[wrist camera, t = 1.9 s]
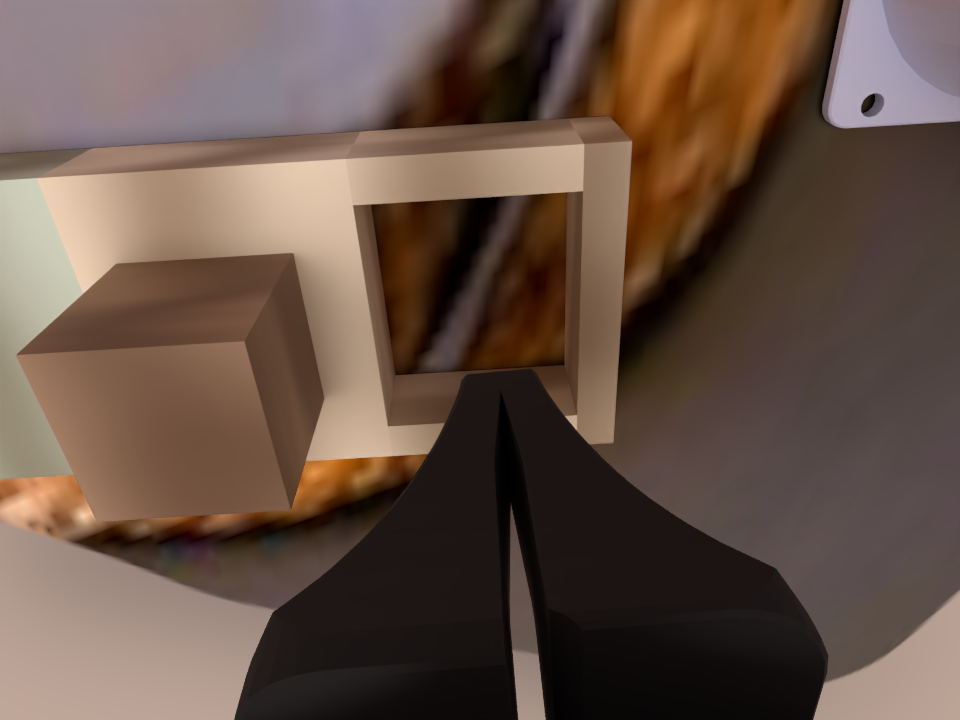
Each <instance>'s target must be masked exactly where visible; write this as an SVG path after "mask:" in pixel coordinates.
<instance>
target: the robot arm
mask: <svg viewBox="0 0 960 720" xmlns="http://www.w3.org/2000/svg"><path fill="white" fill-rule="evenodd" d="M871 94H874V95H875V102H874V105H873V107H872V108H871V109H870V110H869V111H867V112H865V113H861V105H862V103H863V101H864V99H865V98H866V97H868V96H869V95H871ZM822 114H823V116H824V118H825V120H826V121H827V122H829V123H830V124H831V125H834V126H836V127H839V128H859V127H875V126H891V125H907V124H923V123H939V122H955V121H960V0H844V1H843V6H842V11H841V16H840V21H839V26H838V31H837V36H836V41H835V46H834V51H833V56H832V60H831V65H830V70H829V75H828V80H827V85H826V90H825V95H824V100H823V105H822ZM511 506H512V510H513V515H514V520H515V525H516V530H517V534H518V539H519V544H520V549H521V554H522V558H523V563H524V568H525V573H526V577H527V582H528V587H529V592H530V596H531V601H532V607H533V614H534V620H535V627H536V636H537V645H538V654H539V662H540V671H541V681H542V690H543V699H544V707H545V717H546V720H813V718H814V715H815V711H816V708H817V705H818V701H819V698H820V695H821V691H822V688H823V684H824V681H825V678H826V674H827V665H828V654H827V651H826V649H825V646H824V644H823V641H822V639H821V637H820V635H819V633H818V631H817V629H816V627H815V625H814V624H813V622H812V620H811V618H810V616H809V615H808V613H807V612H806V610H805V609H804V607H803V606H802V604H801V603H800V601H799V600H798V599H797V597H796V596H795V594H794V593H793V591H792V590H791V589H790V587H789V586H788V584H787V583H786V582H785V580H784V579H783V578H782V576H781V575H780V573H779V572H778V571H777V569H775V568H774V567H772V566H770V565H767V564H765V563H763V562H761V561H759V560H757V559H755V558H753V557H751V556H748V555H746V554H744V553H742V552H740V551H738V550H736V549H734V548H731V547H729V546H727V545H725V544H723V543H721V542H719V541H717V540H715V539H714V538H712V537H710V536H708V535H707V534H705V533H703V532H701V531H700V530H698V529H696V528H694V527H693V526H691V525H689V524H687V523H686V522H684V521H683V520H681V519H679V518H678V517H676V516H675V515H673V514H672V513H670V512H669V511H667V510H666V509H665V508H663V507H662V506H660V505H659V504H657V503H656V502H654V501H653V500H651V499H650V498H648V497H647V496H646V495H645V494H643V493H642V492H641V491H639V490H638V489H637V488H636V487H634V486H633V485H632V484H631V483H630V482H628V481H627V480H626V479H625V478H624V477H623V476H621V475H620V474H619V473H618V472H617V471H616V470H615V469H613V468H612V467H611V466H610V465H609V464H608V463H607V462H606V461H605V460H604V459H603V458H602V457H601V456H600V455H599V454H598V453H597V452H596V451H595V450H594V449H593V448H592V447H591V446H590V445H589V444H588V443H587V441H586V440H585V439H584V438H583V437H582V436H581V435H580V434H579V433H578V431H577V430H576V429H575V428H574V427H573V425H572V424H571V423H570V422H569V420H568V419H567V418H566V417H565V416H564V414H563V413H562V412H561V410H560V409H559V408H558V406H557V405H556V404H555V402H554V401H553V399H552V398H551V397H550V395H549V394H548V392H547V391H546V389H545V387H544V386H543V384H542V382H541V381H540V379H539V377H538V375H537V373H536V372H535V371H533V370H532V369H520V370H509V371H498V372H487V373H476V374H467V375H466V376H465V377H464V378H463V379H462V380H461V384H460V388H459V391H458V394H457V397H456V400H455V402H454V404H453V407H452V409H451V411H450V414H449V416H448V418H447V420H446V422H445V424H444V426H443V428H442V430H441V432H440V434H439V436H438V438H437V440H436V442H435V443H434V445H433V447H432V448H431V450H430V452H429V453H428V455H427V457H426V458H425V460H424V462H423V463H422V465H421V467H420V468H419V470H418V471H417V473H416V474H415V476H414V477H413V479H412V480H411V482H410V483H409V484H408V486H407V487H406V489H405V490H404V491H403V492H402V494H401V495H400V496H399V498H398V499H397V500H396V502H395V503H394V504H393V505H392V507H391V508H390V509H389V510H388V511H387V512H386V513H385V515H384V516H383V517H382V518H381V519H380V520H379V522H378V523H377V524H376V525H375V526H374V527H373V528H372V529H371V531H370V532H369V533H368V534H367V535H366V536H365V537H364V538H363V539H362V540H361V541H360V542H359V543H358V544H357V545H356V546H355V547H354V548H353V549H351V550H350V551H349V552H348V553H347V554H346V555H345V556H344V557H343V558H342V559H341V560H340V561H339V562H337V563H336V564H335V565H334V566H333V567H332V568H331V569H330V570H328V571H327V572H326V573H325V574H324V575H322V576H321V577H320V578H319V579H317V580H316V581H315V582H313V583H312V584H311V585H309V586H308V587H307V588H305V589H304V590H303V591H301V592H300V593H299V594H297V595H296V596H295V597H293V598H292V599H291V600H289V601H288V602H287V603H285V604H284V605H283V606H281V607H280V608H278V609H277V610H275V611H274V612H273V613H272V615H271V617H270V619H269V622H268V624H267V626H266V628H265V631H264V633H263V635H262V637H261V639H260V642H259V644H258V647H257V649H256V651H255V653H254V656H253V658H252V661H251V663H250V666H249V669H248V672H247V675H246V679H245V682H244V686H243V689H242V693H241V697H240V700H239V704H238V708H237V711H236V715H235V719H234V720H518V713H517V701H516V689H515V677H514V665H513V653H512V641H511V629H510V603H509V600H510V511H511Z"/></svg>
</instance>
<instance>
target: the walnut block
mask: <svg viewBox="0 0 960 720" xmlns="http://www.w3.org/2000/svg"><path fill="white" fill-rule="evenodd" d="M16 357H17V359H18V361H19V363H20V365H21V367H22V369H23V371H24V373H25V375H26V377H27V379H28V381H29V383H30V385H31V388H32V390H33V392H34V394H35V396H36V398H37V400H38V402H39V404H40V406H41V408H42V410H43V412H44V414H45V416H46V418H47V420H48V422H49V424H50V426H51V429H52V431H53V433H54V435H55V437H56V439H57V441H58V443H59V445H60V447H61V449H62V451H63V453H64V455H65V457H66V459H67V461H68V463H69V465H70V467H71V470H72V472H73V474H74V476H75V478H76V480H77V482H78V484H79V486H80V488H81V490H82V492H83V494H84V496H85V498H86V500H87V502H88V504H89V506H90V508H91V511H92V513H93V515H94V517H95V519H96V521H97V522H98V521H115V520H132V519H149V518H166V517H183V516H200V515H217V514H234V513H251V512H268V511H285V510H291V508H292V505H293V501H294V498H295V495H296V491H297V488H298V485H299V482H300V478H301V475H302V472H303V468H304V465H305V462H306V458H307V455H308V452H309V448H310V445H311V442H312V438H313V435H314V432H315V429H316V425H317V422H318V419H319V415H320V412H321V409H322V405H323V402H324V394H323V390H322V385H321V380H320V376H319V371H318V366H317V362H316V357H315V352H314V348H313V343H312V338H311V334H310V329H309V324H308V320H307V315H306V310H305V306H304V301H303V296H302V292H301V287H300V282H299V278H298V273H297V268H296V264H295V259H294V254H293V253H282V254H265V255H249V256H233V257H216V258H200V259H184V260H167V261H151V262H135V263H118V264H115V265H114V266H113V267H112V268H111V269H110V270H109V271H108V272H106V273H105V274H104V275H103V276H102V277H101V278H100V279H99V280H98V281H97V282H96V283H94V284H93V285H92V286H91V287H90V288H89V289H88V290H87V291H86V292H85V293H83V294H82V295H81V296H80V297H79V298H78V299H77V300H76V301H75V302H74V303H72V304H71V305H70V306H69V307H68V308H67V309H66V310H65V311H64V312H63V313H61V314H60V315H59V316H58V317H57V318H56V319H55V320H54V321H53V322H52V323H50V324H49V325H48V326H47V327H46V328H45V329H44V330H43V331H42V332H41V333H39V334H38V335H37V336H36V337H35V338H34V339H33V340H32V341H31V342H30V343H28V344H27V345H26V346H25V347H24V348H23V349H22V350H21V351H20V352H19V353H17V354H16Z"/></svg>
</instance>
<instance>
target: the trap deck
mask: <svg viewBox="0 0 960 720" xmlns="http://www.w3.org/2000/svg"><path fill="white" fill-rule="evenodd" d="M631 154H632V140H631V139H630V138H629V137H628V136H627V135H626V134H625V133H624V131H623V130H622V129H621V128H620V127H619V126H618V125H617V124H616V123H615V122H614V120H613V119H612V118H611V117H610V116H601V117H585V118H569V119H553V120H537V121H521V122H505V123H489V124H473V125H457V126H441V127H424V128H408V129H392V130H376V131H360V132H344V133H328V134H312V135H296V136H280V137H264V138H248V139H232V140H216V141H200V142H184V143H168V144H152V145H136V146H120V147H104V148H88V149H72V150H56V151H40V152H24V153H8V154H0V479H12V478H29V477H46V476H63V475H74V474H73V472H72V470H71V467H70V465H69V463H68V461H67V459H66V457H65V455H64V453H63V451H62V449H61V447H60V445H59V443H58V441H57V439H56V437H55V435H54V433H53V431H52V429H51V426H50V424H49V422H48V420H47V418H46V416H45V414H44V412H43V410H42V408H41V406H40V404H39V402H38V400H37V398H36V396H35V394H34V392H33V390H32V388H31V385H30V383H29V381H28V379H27V377H26V375H25V373H24V371H23V369H22V367H21V365H20V363H19V361H18V359H17V357H16V354H17V353H19V352H20V351H21V350H22V349H23V348H24V347H25V346H26V345H27V344H28V343H30V342H31V341H32V340H33V339H34V338H35V337H36V336H37V335H38V334H39V333H41V332H42V331H43V330H44V329H45V328H46V327H47V326H48V325H49V324H50V323H52V322H53V321H54V320H55V319H56V318H57V317H58V316H59V315H60V314H61V313H63V312H64V311H65V310H66V309H67V308H68V307H69V306H70V305H71V304H72V303H74V302H75V301H76V300H77V299H78V298H79V297H80V296H81V295H82V294H83V293H85V292H86V291H87V290H88V289H89V288H90V287H91V286H92V285H93V284H94V283H96V282H97V281H98V280H99V279H100V278H101V277H102V276H103V275H104V274H105V273H106V272H108V271H109V270H110V269H111V268H112V267H113V266H114V265H115V264H118V263H135V262H151V261H167V260H184V259H200V258H216V257H233V256H249V255H265V254H282V253H293V254H294V259H295V264H296V268H297V273H298V278H299V282H300V287H301V292H302V296H303V301H304V306H305V310H306V315H307V320H308V324H309V329H310V334H311V338H312V343H313V348H314V352H315V357H316V362H317V366H318V371H319V376H320V380H321V385H322V390H323V394H324V402H323V405H322V409H321V412H320V415H319V419H318V422H317V425H316V429H315V432H314V435H313V438H312V442H311V445H310V448H309V452H308V455H307V458H306V461H316V460H333V459H349V458H366V457H383V456H400V455H417V454H428V453H429V452H430V450H431V448H432V447H433V445H434V443H435V442H436V440H437V438H438V436H439V434H440V432H441V430H442V428H443V426H444V424H445V422H446V420H447V418H448V416H449V414H450V411H451V409H452V407H453V404H454V402H455V400H456V397H457V394H458V391H459V388H460V384H461V380H462V379H463V378H464V377H465V376H466V375H467V374H476V373H487V372H498V371H509V370H520V369H532V370H533V371H535V372H536V373H537V375H538V377H539V379H540V381H541V382H542V384H543V386H544V387H545V389H546V391H547V392H548V394H549V395H550V397H551V398H552V399H553V401H554V402H555V404H556V405H557V406H558V408H559V409H560V410H561V412H562V413H563V414H564V416H565V417H566V418H567V419H568V420H569V422H570V423H571V424H572V425H573V427H574V428H575V429H576V430H577V431H578V433H579V434H580V435H581V436H582V437H583V438H584V439H585V440H586V441H587V443H588V444H602V443H613V440H614V424H615V408H616V392H617V376H618V360H619V344H620V328H621V313H622V297H623V281H624V265H625V249H626V233H627V217H628V201H629V186H630V170H631ZM563 192H567V219H566V293H565V365H558V366H541V367H525V368H508V369H491V370H475V371H458V372H441V373H425V374H408V375H395V368H394V361H393V354H392V347H391V340H390V333H389V326H388V319H387V312H386V305H385V298H384V291H383V284H382V277H381V270H380V263H379V256H378V249H377V242H376V235H375V228H374V221H373V214H372V208H371V204H385V203H401V202H417V201H433V200H450V199H466V198H482V197H498V196H514V195H531V194H547V193H563Z"/></svg>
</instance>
